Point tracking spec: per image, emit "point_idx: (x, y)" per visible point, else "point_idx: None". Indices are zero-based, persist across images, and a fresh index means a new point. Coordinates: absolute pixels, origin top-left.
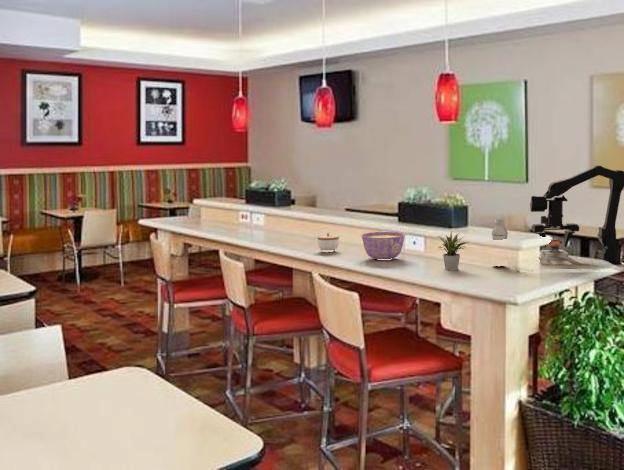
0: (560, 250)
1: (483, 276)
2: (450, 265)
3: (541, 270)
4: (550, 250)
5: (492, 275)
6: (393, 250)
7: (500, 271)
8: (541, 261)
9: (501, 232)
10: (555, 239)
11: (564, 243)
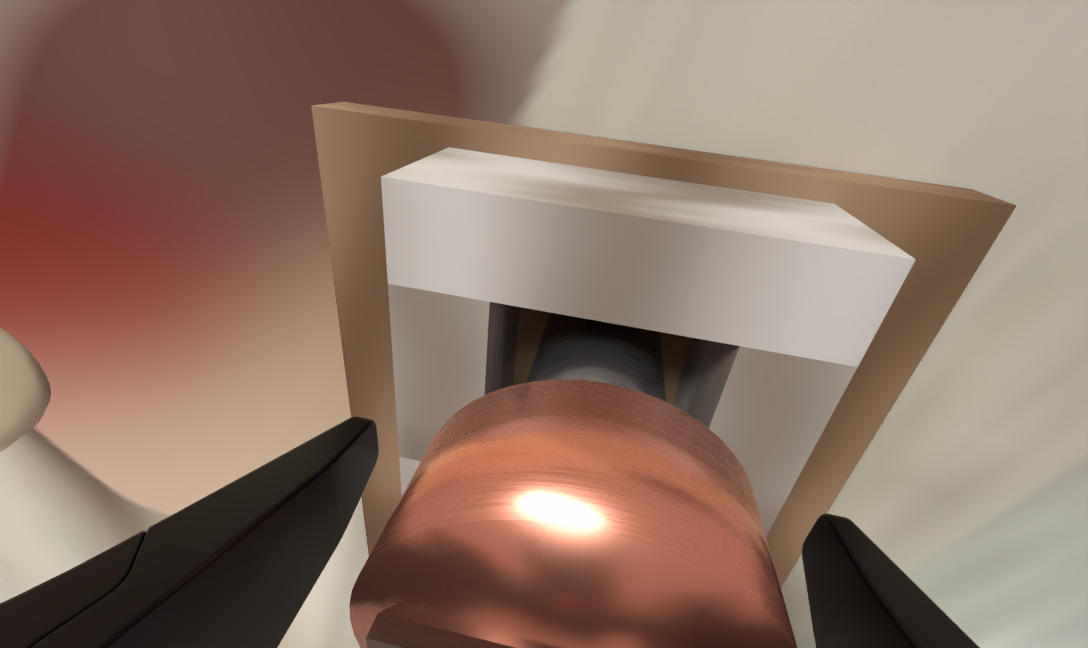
0: (787, 345)
1: (9, 568)
2: None
3: (356, 558)
4: (566, 284)
5: (49, 565)
6: None
7: (66, 496)
8: (387, 402)
9: None
10: (682, 576)
11: (850, 631)
